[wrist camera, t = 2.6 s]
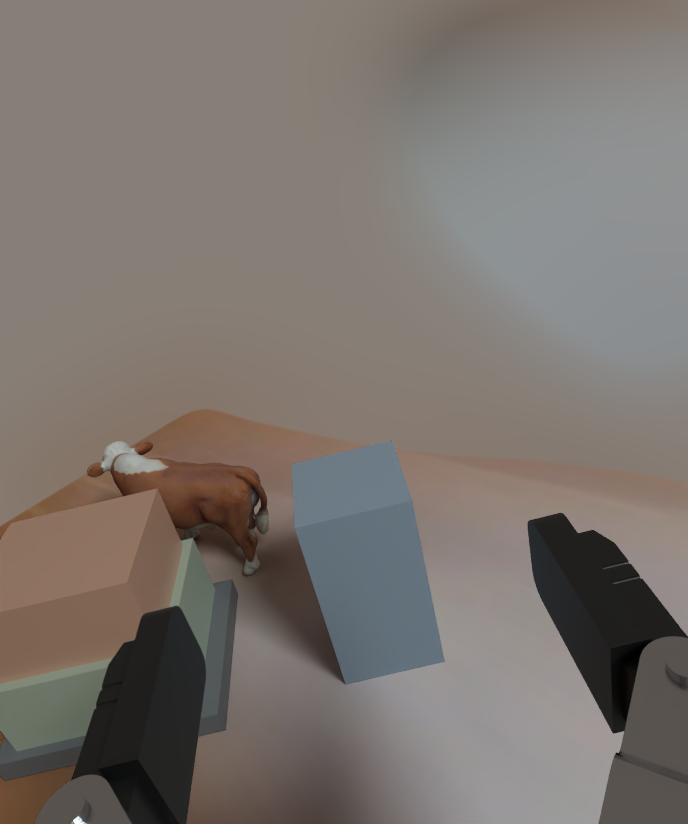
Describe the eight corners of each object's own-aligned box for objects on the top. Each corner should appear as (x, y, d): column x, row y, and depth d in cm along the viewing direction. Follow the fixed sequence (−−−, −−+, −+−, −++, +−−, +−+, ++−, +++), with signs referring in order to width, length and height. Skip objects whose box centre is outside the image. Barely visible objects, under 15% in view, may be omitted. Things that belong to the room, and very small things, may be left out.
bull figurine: (153, 516, 46) (112, 426, 42) (298, 543, 39) (264, 440, 36) (112, 554, 43) (63, 462, 39) (262, 591, 36) (221, 484, 32)
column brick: (345, 684, 29) (294, 528, 25) (337, 608, 34) (292, 464, 29) (444, 661, 29) (411, 500, 24) (423, 588, 34) (391, 440, 29)
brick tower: (4, 780, 29) (-104, 652, 24) (64, 634, 37) (-9, 518, 32) (225, 729, 28) (156, 591, 24) (237, 593, 36) (187, 471, 32)
